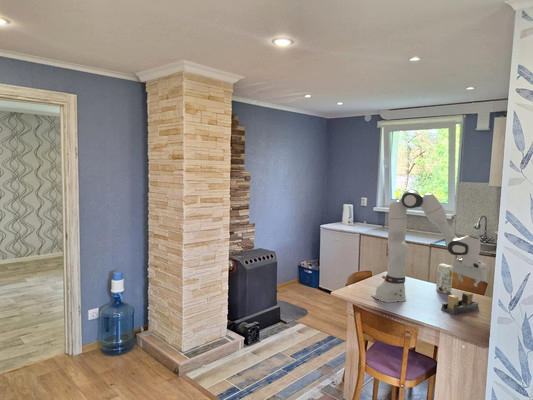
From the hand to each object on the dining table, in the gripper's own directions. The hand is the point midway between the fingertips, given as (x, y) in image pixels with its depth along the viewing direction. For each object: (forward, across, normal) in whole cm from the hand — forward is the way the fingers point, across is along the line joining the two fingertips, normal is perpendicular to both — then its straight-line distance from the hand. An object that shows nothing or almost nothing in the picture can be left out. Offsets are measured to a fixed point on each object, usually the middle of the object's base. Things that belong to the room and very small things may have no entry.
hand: (467, 283), depth 224 cm
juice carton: (+16, -26, +14) cm, 33 cm away
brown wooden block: (+14, 0, 0) cm, 14 cm away
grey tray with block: (+16, 0, -6) cm, 17 cm away
